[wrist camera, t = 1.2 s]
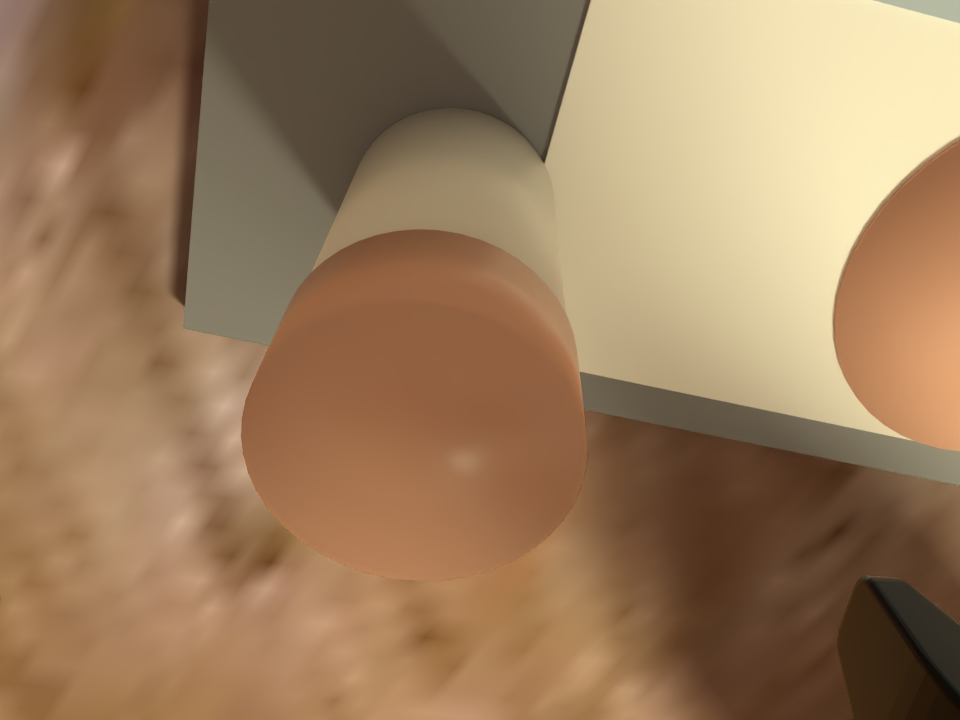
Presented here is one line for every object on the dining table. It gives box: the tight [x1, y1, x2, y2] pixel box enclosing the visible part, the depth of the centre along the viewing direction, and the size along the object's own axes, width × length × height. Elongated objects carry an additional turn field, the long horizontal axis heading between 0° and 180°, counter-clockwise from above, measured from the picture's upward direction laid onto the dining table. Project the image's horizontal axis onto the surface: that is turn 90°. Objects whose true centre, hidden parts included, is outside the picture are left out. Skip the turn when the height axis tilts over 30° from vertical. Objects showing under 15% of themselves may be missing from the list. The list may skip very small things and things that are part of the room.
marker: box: [241, 108, 588, 581], centre depth 15 cm, size 4×4×8 cm
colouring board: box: [183, 0, 960, 486], centre depth 16 cm, size 22×18×3 cm
